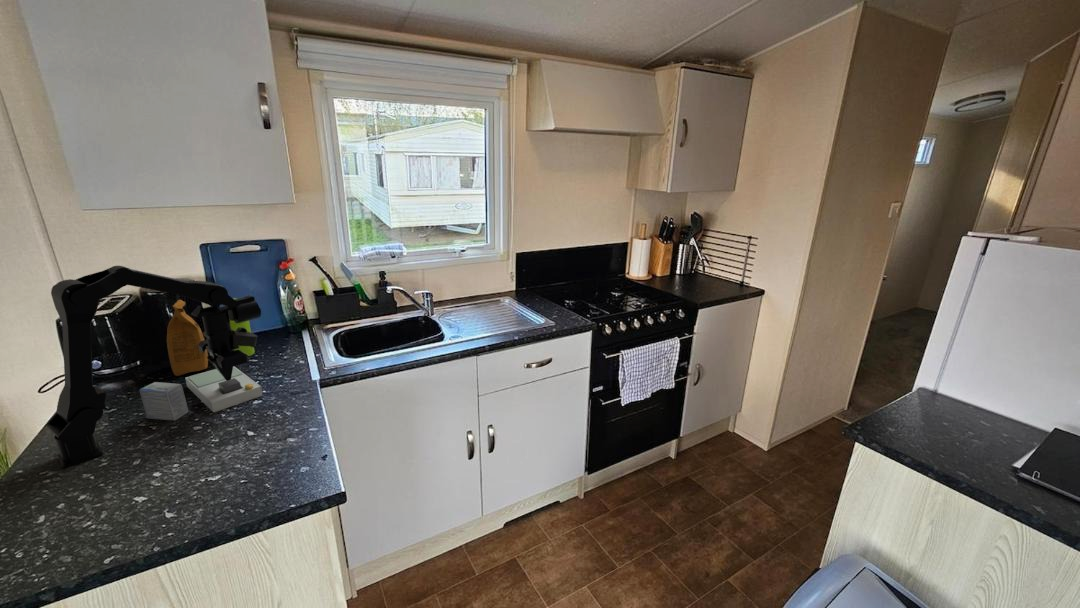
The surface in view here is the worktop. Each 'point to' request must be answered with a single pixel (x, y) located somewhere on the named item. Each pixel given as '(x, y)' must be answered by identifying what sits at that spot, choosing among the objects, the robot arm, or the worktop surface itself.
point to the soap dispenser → (246, 325)
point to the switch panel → (210, 393)
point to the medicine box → (164, 401)
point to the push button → (229, 386)
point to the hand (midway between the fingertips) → (228, 379)
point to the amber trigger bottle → (185, 343)
